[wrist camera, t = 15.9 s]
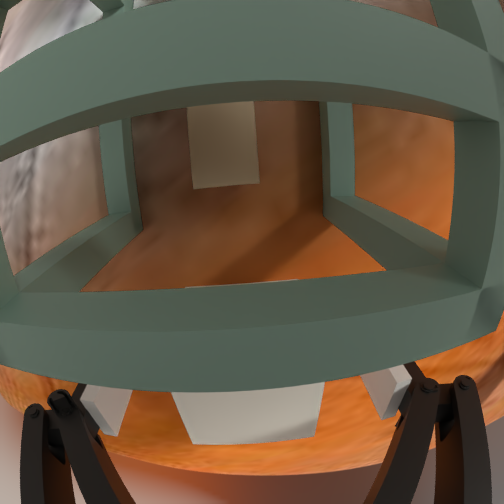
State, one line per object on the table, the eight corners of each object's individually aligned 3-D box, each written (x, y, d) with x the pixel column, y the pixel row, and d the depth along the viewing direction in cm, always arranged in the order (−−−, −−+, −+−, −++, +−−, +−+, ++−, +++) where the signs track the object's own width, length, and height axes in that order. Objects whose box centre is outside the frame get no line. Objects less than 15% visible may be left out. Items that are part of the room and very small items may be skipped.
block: (185, 286, 15) (159, 361, 9) (297, 278, 15) (329, 351, 9) (202, 367, 17) (193, 444, 11) (295, 361, 17) (314, 436, 11)
